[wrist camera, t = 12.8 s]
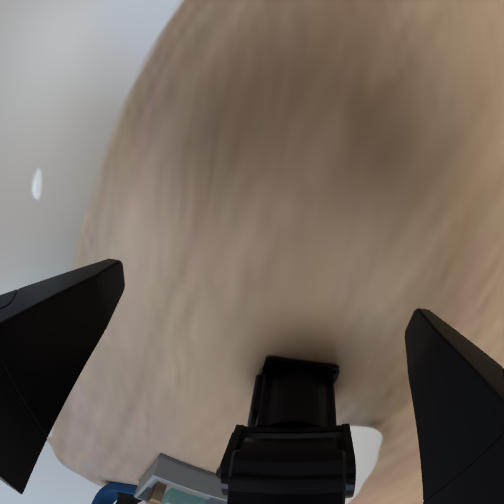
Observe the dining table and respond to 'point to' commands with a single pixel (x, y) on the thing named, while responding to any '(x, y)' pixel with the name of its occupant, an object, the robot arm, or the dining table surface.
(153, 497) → the walnut block
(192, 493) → the carton
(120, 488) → the handheld scanner
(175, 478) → the tote
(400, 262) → the dining table surface
